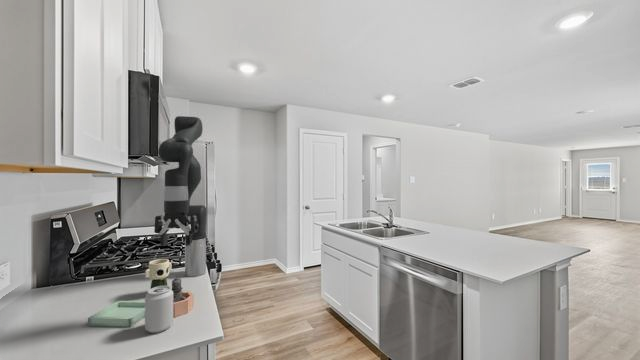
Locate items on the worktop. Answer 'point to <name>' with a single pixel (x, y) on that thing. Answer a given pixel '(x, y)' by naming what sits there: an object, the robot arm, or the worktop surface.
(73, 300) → the worktop surface
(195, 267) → the robot arm
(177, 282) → the grey lumpy tower
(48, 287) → the worktop surface
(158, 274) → the character mug
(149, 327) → the can
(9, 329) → the worktop surface
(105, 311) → the tray
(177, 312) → the orange polygonal bowl
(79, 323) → the worktop surface
